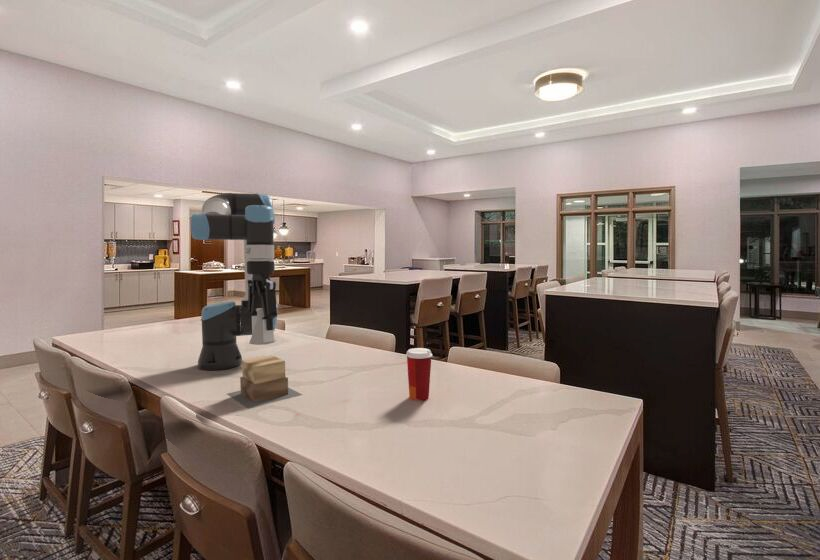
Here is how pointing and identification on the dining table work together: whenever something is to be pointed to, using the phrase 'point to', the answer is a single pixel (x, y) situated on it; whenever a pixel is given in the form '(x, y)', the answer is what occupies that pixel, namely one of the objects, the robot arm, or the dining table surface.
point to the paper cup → (419, 373)
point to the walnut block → (264, 389)
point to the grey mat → (251, 404)
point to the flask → (259, 330)
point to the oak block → (263, 369)
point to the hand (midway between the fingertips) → (262, 339)
